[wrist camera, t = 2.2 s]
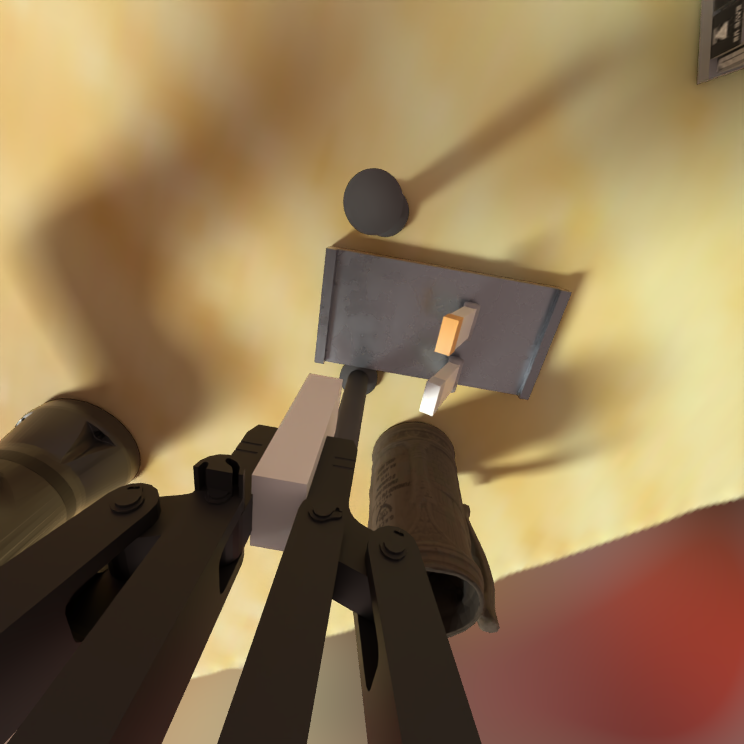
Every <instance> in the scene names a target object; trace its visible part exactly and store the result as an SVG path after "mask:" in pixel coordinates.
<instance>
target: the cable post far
mask: <svg viewBox="0 0 744 744" xmlns="http://www.w3.org/2000/svg"><path fill="white" fill-rule="evenodd" d="M340 379H343V382H342V387H343V389H344V393H343V396H342V400H341V403H340V406H339V410H338V417H337V424H336V431H335V434H334V437H337V438H342V439H348V440H354V443H355V445H356V448H357V447H358V441H359V435H360V429H361V422H362V416H363V410H364V404H365V398H366V394H368V393H370V392H371V391H372V390H373V389H374V388H375V386H376V383H377V371H376V370H373V369H367V368H362V367H356V366H350V365H344V366H343V368H342V370H341V373H340Z"/></svg>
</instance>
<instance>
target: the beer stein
mask: <svg viewBox="0 0 744 744" xmlns="http://www.w3.org/2000/svg"><path fill="white" fill-rule="evenodd" d="M372 461H373V465H372V476H371V486H370V490H369V498H370V504H369V521H368V528H369V529H371V530H373V531H375V530H376V529H378V528H379V527H384V526H395V527H399V528H401V529H403V530H405V531H407V532H408V533H409V534H410V535H411V536H412V537H413V538H414V540H415V541H416V543H417V545H418V548H419V551H420V554H421V557H422V560H423V563H424V566H425V569H426V572H427V576H428V579H429V582H430V585H431V588H432V591H433V594H434V597H435V600H436V604H437V607H438V610H439V613H440V616H441V619H442V622H443V625H444V628H445V632H446V635H447V638H448V637H452V636H454V635H456V634H459V633H461V632H464V631H466V630H467V629H468V628H469V627H471V626H472V625H474V624H475V622H476V621H477V622H478V625H479V627H480V629H482V630H483V631H486V632H489V633H493V632H497V631H498V629H499V624H498V620H497V616H496V612H495V589H494V582H493V578H492V574H491V571H490V567H489V564H488V561H487V558H486V556H485V553H484V551H483V549H482V547H481V544H480V542H479V540H478V538H477V536H476V534H475V532H474V530H473V528H472V526H471V523H470V521H469V516H470V508H469V506H468V505H466V504H463V503H462V498H461V493H460V489H459V481H458V476H457V467H456V463H455V453H454V448H453V445H452V443H451V441H450V440H449V438H448V437H447V436H446V435H445V433H443V432H442V431H441V430H439V429H437V428H436V427H434V426H431V425H428V424H425V423H419V422H410V423H403V424H399V425H396V426H394V427H392V428H390V429H388V430H387V431H386V432H384V433H383V434H382V435H381V436H380V437H379V439H378V440H377V442H376V444H375V446H374V449H373V454H372Z"/></svg>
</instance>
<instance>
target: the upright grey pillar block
mask: <svg viewBox="0 0 744 744" xmlns="http://www.w3.org/2000/svg"><path fill="white" fill-rule="evenodd" d="M741 69H744V0H702V1H701V20H700V39H699V58H698V78H697V84H700V83H703V82H706V81H709V80H712V79H715V78H718V77H721V76H723V75H726V74H729V73H732V72H735V71H738V70H741Z"/></svg>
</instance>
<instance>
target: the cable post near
mask: <svg viewBox="0 0 744 744" xmlns="http://www.w3.org/2000/svg"><path fill="white" fill-rule="evenodd" d="M343 204H344V211H345V214H346V217H347V219H348V220H349V222H350V223H351V225H352V226H353V227H354V228H355V229H357V230H358V231H360V232H361V233H364V234H367V235H378V236H381V237H389V236H393V235H395V234H397V233H398V232H400V231H401V230H402V229H403V227H404V226H405V224H406V222H407V220H408V215H409V207H408V203H407V200H406V198H405V196H404V195H403V194H402V190H401V188H400V185H399V184H398V182H397V181H396V179H395V178H394V177H393V176H392V175H391V174H389V173H388V172H386V171H384V170H381V169H376V168H370V169H366V170H363V171H361V172H359V173H357V174H356V175H355V176H354V177H353V178H352V179H351V180H350V182H349V183H348V185H347V187H346V190H345V193H344V199H343Z"/></svg>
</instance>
